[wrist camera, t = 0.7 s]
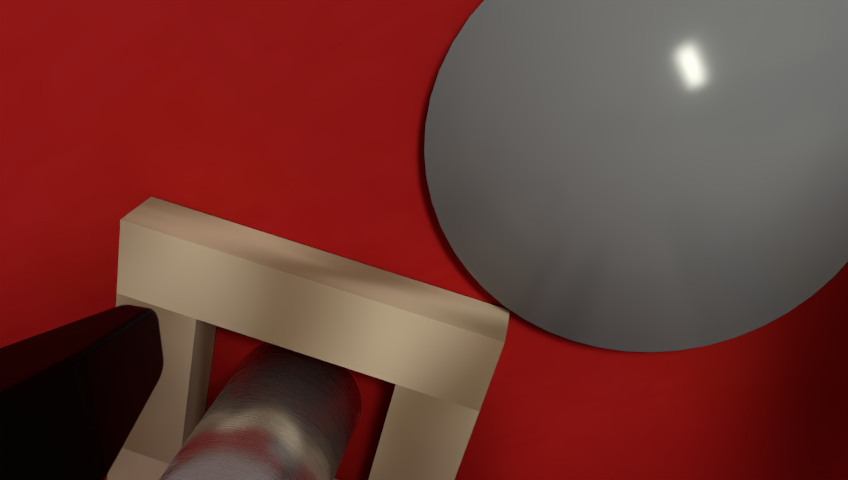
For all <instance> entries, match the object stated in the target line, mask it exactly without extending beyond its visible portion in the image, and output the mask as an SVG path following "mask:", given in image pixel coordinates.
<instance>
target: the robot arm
mask: <svg viewBox="0 0 848 480" xmlns="http://www.w3.org/2000/svg"><path fill="white" fill-rule="evenodd" d="M163 365H164V357H163V349H162V341H161V333H160V325H159V319H158V316H157V314H156V312H155V311H154V310H152V309H151V308H146V307H140V306H135V305H128V304H125V305H120V306H117V307H115V308H112V309H109V310H106V311H103V312H101V313H98V314H95V315H92V316H89V317H87V318H84V319H81V320H78V321H75V322H73V323H70V324H67V325H64V326H61V327H59V328H56V329H53V330H50V331H47V332H45V333H42V334H39V335H36V336H33V337H30V338H28V339H25V340H22V341H19V342H16V343H14V344H11V345H8V346H5V347H2V348H0V480H104V478H105V477H106V475H107V474H108V472H109V470H110V469H111V467H112V465H113V463H114V462H115V460H116V458H117V456H118V455H119V453H120V451H121V449H122V447H123V445H124V444H125V442H126V440H127V438H128V436H129V434H130V433H131V431H132V429H133V427H134V425H135V423H136V422H137V420H138V418H139V416H140V414H141V412H142V411H143V409H144V407H145V405H146V403H147V401H148V399H149V398H150V396H151V394H152V392H153V390H154V388H155V387H156V385H157V383H158V381H159V379H160V377H161V374H162V371H163Z"/></svg>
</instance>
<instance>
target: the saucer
mask: <svg viewBox="0 0 848 480" xmlns="http://www.w3.org/2000/svg"><path fill="white" fill-rule="evenodd" d="M424 156H425V168H426V178H427V183H428V187H429V192H430V196H431V201H432V204H433V207H434V210H435V213H436V215H437V218H438V221H439V223H440V226H441V228H442V230H443V232H444V234H445V236H446V238H447V240H448V242H449V244H450V245H451V247H452V249H453V251H454V252H455V254H456V255H457V256H458V258H459V259H460V261H461V262H462V264H463V265H464V266H465V268H466V269H467V271H468V272H469V273H470V274H471V275H472V276H473V277H474V278H475V279H476V280H477V282H478V283H479V284H480V285H481V286H482V287H483V288H484V289H485V290H486V291H487V292H488V293H490V294H491V295H492V296H493V297H494V298H495V299H497V300H498V301H499V302H500V303H501V304H502V305H504V306H505V307H507V308H508V309H510V310H511V311H513V312H514V313H515V314H517V315H518V316H520V317H521V318H523V319H524V320H526V321H528V322H530V323H532V324H534V325H536V326H538V327H540V328H542V329H544V330H546V331H548V332H550V333H553V334H556V335H558V336H561V337H564V338H566V339H569V340H571V341H575V342H579V343H583V344H587V345H591V346H594V347H599V348H606V349H613V350H619V351H632V352H663V351H678V350H684V349H690V348H696V347H702V346H707V345H711V344H714V343H718V342H721V341H725V340H728V339H732V338H735V337H738V336H740V335H743V334H745V333H747V332H750V331H752V330H755V329H757V328H760V327H762V326H764V325H766V324H768V323H770V322H771V321H773V320H775V319H777V318H779V317H781V316H783V315H784V314H786V313H788V312H789V311H791V310H792V309H794V308H795V307H797V306H798V305H800V304H801V303H802V302H804V301H805V300H807V299H808V298H810V297H811V296H812V295H813V294H815V293H816V292H817V291H818V290H819V289H820V288H821V287H823V286H824V285H825V284H826V283H827V282H828V281H830V280H831V279H832V278H833V277H834V276H835V275H836V274H837V273H838V272H839V270H840V269H841V268H842V267H843V266H844V265H845V264H846V263H847V262H848V0H484V1H483V2H482V3H481V4H480V5H479V7H478V8H477V9H476V10H475V11H474V12H473V14H472V15H471V16H470V17H469V19H468V20H467V22H466V23H465V25H464V26H463V28H462V29H461V31H460V32H459V34H458V35H457V37H456V38H455V40H454V41H453V43H452V45H451V47H450V49H449V51H448V53H447V55H446V57H445V59H444V62H443V64H442V66H441V68H440V70H439V73H438V76H437V79H436V82H435V85H434V88H433V91H432V94H431V97H430V103H429V108H428V113H427V119H426V124H425V144H424Z"/></svg>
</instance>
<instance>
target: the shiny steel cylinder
mask: <svg viewBox="0 0 848 480" xmlns="http://www.w3.org/2000/svg"><path fill="white" fill-rule="evenodd" d="M360 413H361V396H360V392H359V389H358V386H357V384H356V382H355V380H354V378H353V377H352V375H351V373H350V372H349V371H348V370H347V368H345V367H341V366H338V365H335V364H332V363H329V362H326V361H323V360H320V359H317V358H314V357H311V356H308V355H305V354H302V353H299V352H295V351H292V350H289V349H286V348H283V347H280V346H277V345H274V344H271V343H265V344H262V345H260V346H258V347H256V348H255V349H253V350H252V351H251V352H250V353H249V354H248V355H247V356H246V357H245V358H244V360H243V361H242V363H241V364H240V365H239V367H238V368H237V370H236V371H235V372H234V374H233V375H232V377H231V378H230V380H229V381H228V382H227V384H226V385H225V387H224V388H223V390H222V391H221V392H220V394H219V395H218V397H217V398H216V399H215V401H214V402H213V404H212V405H211V407H210V408H209V409H208V411H207V412H206V414H205V415H204V416H203V418H202V419H201V421H200V422H199V424H198V425H197V426H196V428H195V429H194V431H193V432H192V433H191V435H190V436H189V438H188V439H187V441H186V442H185V443H184V445H183V446H182V448H181V449H180V450H179V452H178V453H177V455H176V456H175V458H174V459H173V460H172V462H171V463H170V465H169V466H168V467H167V469H166V470H165V472H164V473H163V475H162V476H161V477H160V479H159V480H334V477H335V475H336V472H337V470H338V468H339V465H340V463H341V460H342V458H343V456H344V453H345V451H346V448H347V446H348V444H349V441H350V439H351V436H352V434H353V432H354V429H355V427H356V424H357V422H358V419H359V417H360Z"/></svg>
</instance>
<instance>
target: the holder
mask: <svg viewBox="0 0 848 480" xmlns="http://www.w3.org/2000/svg"><path fill="white" fill-rule="evenodd" d="M125 304H128V305H135V306H140V307H146V308H151V309H152V310H154V311H155V312H156V314H157V316H158V319H159V325H160V333H161V341H162V349H163V357H164V365H163V371H162V374H161V377H160V379H159V381H158V383H157V385H156V387H155V388H154V390H153V392H152V394H151V396H150V398H149V399H148V401H147V403H146V405H145V407H144V409H143V411H142V412H141V414H140V416H139V418H138V420H137V422H136V423H135V425H134V427H133V429H132V431H131V433H130V434H129V436H128V438H127V440H126V442H125V444H124V445H123V447H122V449H121V451H120V453H119V455H118V456H117V458H116V460H115V462H114V463H113V465H112V467H111V469H110V470H109V472H108V474H107V480H159V479H160V477H161V476H162V475H163V473H164V472H165V470H166V469H167V467H168V466H169V465H170V463H171V462H172V460H173V459H174V458H175V456H176V455H177V453H178V452H179V450H180V449H181V448H182V446H183V445H184V443H185V442H186V441H187V439H188V438H189V436H190V435H191V433H192V432H193V431H194V429H195V428H196V426H197V425H198V424H199V422H200V421H201V419H202V418H203V416H204V415H205V409H206V401H207V394H208V386H209V379H210V371H211V363H212V356H213V348H214V341H215V333H216V326H219V327H222V328H225V329H228V330H231V331H234V332H237V333H240V334H243V335H246V336H250V337H253V338H256V339H259V340H262V341H265V342H268V343H271V344H274V345H277V346H280V347H283V348H286V349H289V350H292V351H295V352H299V353H302V354H305V355H308V356H311V357H314V358H317V359H320V360H323V361H326V362H329V363H332V364H335V365H338V366H341V367H345V368H348V369H351V370H354V371H357V372H360V373H363V374H366V375H369V376H372V377H375V378H378V379H381V380H384V381H387V382H390V383H394V384H396V385H395V389H394V392H393V396H392V399H391V403H390V406H389V409H388V413H387V416H386V420H385V423H384V427H383V430H382V434H381V437H380V441H379V444H378V448H377V451H376V455H375V458H374V462H373V465H372V469H371V472H370V475H369V479H368V480H454V479H455V477H456V474H457V471H458V469H459V466H460V463H461V460H462V458H463V455H464V452H465V449H466V447H467V444H468V441H469V438H470V436H471V433H472V430H473V428H474V425H475V422H476V419H477V417H478V414H479V411H480V408H481V406H482V403H483V400H484V397H485V395H486V392H487V389H488V387H489V384H490V381H491V378H492V376H493V373H494V370H495V367H496V365H497V362H498V359H499V356H500V354H501V351H502V348H503V346H504V343H505V337H506V332H507V326H508V320H509V314H510V310H508V309H505V308H501V307H498V306H495V305H492V304H489V303H486V302H482V301H479V300H476V299H473V298H470V297H467V296H464V295H460V294H457V293H454V292H451V291H448V290H445V289H441V288H438V287H435V286H432V285H429V284H426V283H422V282H419V281H416V280H413V279H410V278H407V277H404V276H400V275H397V274H394V273H391V272H388V271H385V270H381V269H378V268H375V267H372V266H369V265H366V264H363V263H359V262H356V261H353V260H350V259H347V258H344V257H340V256H337V255H334V254H331V253H328V252H325V251H321V250H318V249H315V248H312V247H309V246H306V245H303V244H299V243H296V242H293V241H290V240H287V239H284V238H280V237H277V236H274V235H271V234H268V233H265V232H262V231H258V230H255V229H252V228H249V227H246V226H243V225H239V224H236V223H233V222H230V221H227V220H224V219H221V218H217V217H214V216H211V215H208V214H205V213H202V212H198V211H195V210H192V209H189V208H186V207H183V206H179V205H176V204H173V203H170V202H167V201H164V200H161V199H157V198H154V197H150V198H149V199H148V200H146V201H145V202H143V203H142V204H141V205H139V206H138V207H137V208H135V209H134V210H133V211H131V212H130V213H129V214H127V215H126V216H125V217H123V218H122V219H121V220H120V239H119V258H118V278H117V297H116V307H117V306H120V305H125ZM334 480H338V479H335V478H334Z"/></svg>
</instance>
